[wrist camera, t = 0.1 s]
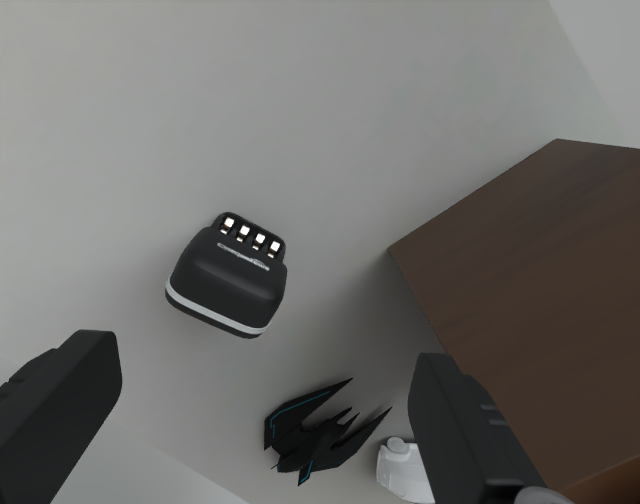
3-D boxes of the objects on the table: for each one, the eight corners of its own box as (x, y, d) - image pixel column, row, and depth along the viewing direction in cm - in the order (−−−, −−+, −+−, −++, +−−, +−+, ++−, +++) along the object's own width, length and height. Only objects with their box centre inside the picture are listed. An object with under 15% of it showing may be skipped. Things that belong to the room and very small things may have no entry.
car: (373, 473, 43) (380, 514, 38) (376, 436, 40) (384, 475, 36) (471, 470, 43) (490, 511, 39) (480, 432, 41) (500, 471, 36)
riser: (387, 247, 32) (530, 503, 11) (556, 138, 28) (1189, 216, 8) (467, 363, 37) (665, 682, 16) (618, 281, 34) (1097, 550, 13)
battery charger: (297, 236, 31) (291, 303, 20) (277, 270, 32) (261, 350, 21) (223, 197, 29) (175, 247, 19) (205, 234, 31) (150, 302, 20)
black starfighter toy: (241, 437, 40) (236, 461, 37) (334, 357, 36) (336, 378, 33) (313, 482, 43) (313, 507, 40) (406, 413, 39) (413, 436, 36)
